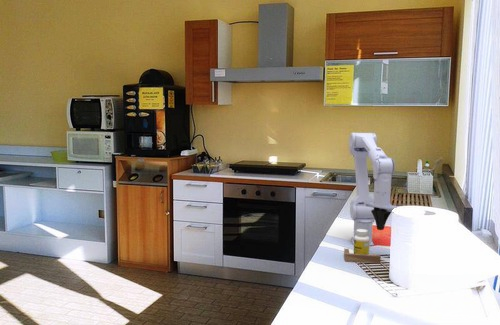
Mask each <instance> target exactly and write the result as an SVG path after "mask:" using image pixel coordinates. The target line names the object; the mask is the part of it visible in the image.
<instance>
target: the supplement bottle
mask: <svg viewBox="0 0 500 325" xmlns="http://www.w3.org/2000/svg"><path fill="white" fill-rule="evenodd" d="M356 234H357V235H356V236H355V237H354V236H353V237H354V245H353V254H367V255H370V245H369V237H368V236H367V235H368V231H367V230H365V229H357V230H356Z"/></svg>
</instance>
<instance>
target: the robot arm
mask: <svg viewBox="0 0 500 325" xmlns="http://www.w3.org/2000/svg"><path fill="white" fill-rule="evenodd" d="M377 143H378V137H377V134H376V133H375V132H354V131H353V132H351V133H350V135H349V138H348V145H349V146H348V150H349V154H350V155H351V156H353V160H354V172H355V187H356V188H355V189H356V196H355V197H354V198H353V199H352V200H351V201H350V207H349V216H350V218H351V220H352V221H353V236H352V237H351V241H352V245H353V246H354V237H355V236H356V235H357V234H356V230H357V229H365V230H367V231H368V235H367V236H368V237H369V247H371V246H374V245H375V244H374V242H373V228H374V227H373V224H374V223H375V226H376V229H377V230H379V231H382V230H383V231H384V230H385V226H386V223H387V221H388V219H389V217H390V215H391V214H392V213H393V212H392V210H393V209H394V208H397V207H398V206H396V205H393V204H391V194H392V192H391V190H392V175H393V174H394V173H395V171H396V170H395V169H396V163H395V159H394V158H392V157H388V156H387V155H386V153H385V151H384V150H383V149H382V148H381V147H378V146H377ZM367 158H368V160H369V161H370V162H371V165H372V176H373V179H374V181H373V182H374V185H373V197H372V196H370V188H369V175H368V161H367Z"/></svg>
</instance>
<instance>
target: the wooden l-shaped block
mask: <svg viewBox="0 0 500 325" xmlns="http://www.w3.org/2000/svg"><path fill="white" fill-rule="evenodd" d="M343 255H344V262H348V263H364V264H381V261H382V257H381V254H379V255H378V254H369V255H367V254H354V253H350V249H349V248H344V252H343Z"/></svg>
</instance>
